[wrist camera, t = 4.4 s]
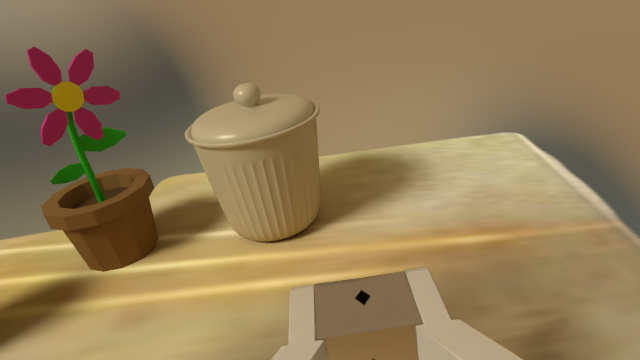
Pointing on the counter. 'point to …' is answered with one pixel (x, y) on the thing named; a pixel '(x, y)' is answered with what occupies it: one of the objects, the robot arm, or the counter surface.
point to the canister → (262, 161)
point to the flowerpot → (90, 170)
